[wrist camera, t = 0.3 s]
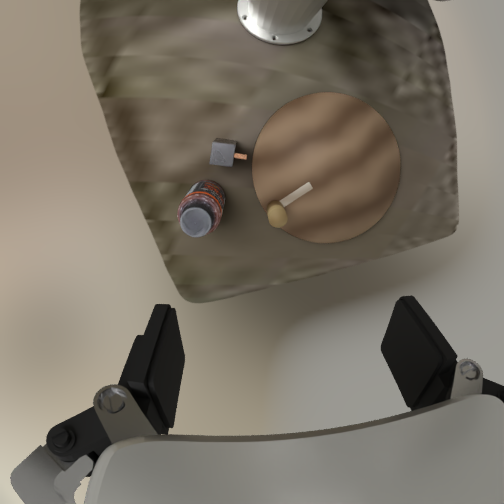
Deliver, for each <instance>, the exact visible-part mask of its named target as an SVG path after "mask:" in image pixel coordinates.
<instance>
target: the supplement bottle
mask: <svg viewBox="0 0 504 504" xmlns="http://www.w3.org/2000/svg"><path fill="white" fill-rule="evenodd" d="M224 204H225V194H224V191H223V189H222V188H221V186H220V185H219V184H217V183H216V182H214V181H210V180H202V181H199V182H197V183H196V184H194V185H193V186H192V187H191V188H190V190H189V191H188V193H187V194H186V196H185V197H184V198H183V200H182V201H181V203H180V205H179V208H178V214H177V215H178V221H179V223H180V225H181V228H182V230H183V231H184V232H185V233H186V234H187V235H189V236H192V237H201V236H204V235H206V234H209V233H211V232H213V231H214V230H215V229H216V228H217V227H218V225H219V223H220V220H221V217H222V212H223V208H224Z"/></svg>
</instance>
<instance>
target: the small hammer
mask: <svg viewBox="0 0 504 504" xmlns="http://www.w3.org/2000/svg"><path fill="white" fill-rule="evenodd" d="M235 148H236V141H234V140H227V139H220V138H216V139H215V140H214V141H213V143H212V150H211V157H210V164H214V165H221V166H229V167H232V165H233V160H234V158H239V159H246V158H247V155H246V154H240V153H235Z"/></svg>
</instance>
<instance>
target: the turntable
mask: <svg viewBox="0 0 504 504" xmlns="http://www.w3.org/2000/svg"><path fill="white" fill-rule="evenodd" d="M400 173H401V160H400V153H399V148H398V145H397V141H396V139H395V136H394V134H393V132H392V130H391V129H390V127H389V125H388V124H387V122H386V121H385V120H384V119H383V117H382V116H381V115H380V114H379V113H378V112H377V111H376V110H375V109H373V108H372V107H371V106H369V105H368V104H366V103H365V102H363V101H361V100H359V99H357V98H354V97H352V96H349V95H345V94H341V93H333V92H322V93H314V94H309V95H305V96H302V97H299V98H297V99H294V100H293V101H291V102H289V103H287V104H285V105H284V106H283V107H281V108H280V109H278V110H277V111H276V112H275V113H274V114H273V115H272V116H271V117H270V118H269V120H268V121H267V122H266V124H265V125H264V127H263V128H262V130H261V132H260V134H259V136H258V138H257V141H256V143H255V147H254V151H253V157H252V176H253V182H254V188H255V191H256V194H257V197H258V199H259V201H260V203H261V206H262V207H263V209H264V210H265V212H266V213H267V215H268V219H269V222H270V224H271V225H272V226H273V227H276V228H279V227H280V228H281V229H283V230H284V231H286V232H287V233H289V234H291V235H293V236H295V237H297V238H300V239H302V240H305V241H310V242H315V243H334V242H341V241H344V240H348V239H351V238H353V237H356V236H358V235H360V234H362V233H363V232H365V231H367V230H368V229H369V228H371V227H372V226H373V225H374V224H375V223H377V222H378V221H379V220H380V219H381V217H382V216H383V215H384V214H385V213H386V211H387V210H388V208H389V207H390V205H391V203H392V201H393V199H394V197H395V194H396V192H397V189H398V185H399V181H400Z"/></svg>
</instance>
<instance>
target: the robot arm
mask: <svg viewBox="0 0 504 504" xmlns="http://www.w3.org/2000/svg"><path fill="white" fill-rule="evenodd" d="M327 1H328V0H238V5H237V13H238V17H239V20H240V22H241V24H242V26H243V27H244V28H245V29H246V30H247V31H248V32H249V33H250V34H251V35H253V36H254V37H256V38H258V39H259V40H262V41H265V42H267V43H272V44H278V45H288V44H295V43H299V42H301V41H303V40H306V39H307V38H309V37H310V36H311V35H312V34H314V33H315V31H316V30H317V29H318V27H319V25H320V23H321V20H322V7H323V5H324V4H325V3H326V2H327ZM436 1H448V0H436ZM244 18H246V19H247V20H243V19H244ZM307 30H309V31H310V32H308V31H307ZM273 38H275V39H276V40H273ZM381 351H382V354H383V356H384V358H385V360H386V362H387V364H388V366H389V368H390V370H391V372H392V374H393V377H394V379H395V381H396V383H397V385H398V387H399V390H400V391H401V394H402V396H403V398H404V401H405V403H406V405H407V406H408V407H410V408H411V411H410V412H406V413H403V414H399V415H395V416H391V417H387V418H383V419H379V420H374V421H369V422H365V423H360V424H354V425H349V426H343V427H337V428H331V429H324V430H317V431H307V432H298V433H287V434H274V435H251V436H204V435H172V434H170V435H168V430H169V428H173V426H174V421H175V413H176V408H177V402H178V396H179V391H180V385H181V379H182V374H183V368H184V363H185V354H184V350H183V345H182V340H181V335H180V330H179V325H178V320H177V315H176V310H175V308H171V306H170V305H169V304H156V305H155V307H154V309H153V312H152V314H151V317H150V320H149V322H148V325H147V327H146V330H145V333H144V335H137V336H136V338H135V340H134V343H133V346H132V348H131V351H130V353H129V356H128V359H127V361H126V364H125V366H124V369H123V372H122V375H121V377H120V380H119V383H118V385H108V386H105V387H103V388H102V389H100V390H99V391H98V392H97V393H96V395H95V397H94V400H93V405H94V406H93V407H91V408H89V409H87V410H85V411H83V412H82V413H80V414H78V415H76V416H74V417H72V418H70V419H68V420H66V421H64V422H62V423H59V424H58V425H56V426H54V427H53V428H51V430H50V431H49V432H48V435H47V439H46V442H47V444H46V445H44V446H43V447H42V446H41V445H40V446H39V447H38V448H37V449H35V450H34V451H33V452H32V453H31V454H30V455H29V456H28V457H27V458H26V459H25V460H24V461H22V463H21V464H19V465H18V466H17V467H16V468H15V469H14V470H13V472H12V473H11V477H10V479H11V484H12V486H13V488H14V490H15V491H16V492H17V494H18V495H19V497H20V498H21V499H22V501H23V502H24V503H25V504H76V503H75V501H74V492H75V491H76V489H77V488H78V487H79V486H80V485H81V483H80V481H81V480H82V479H83V478H84V477H90V476H91V478H90V481H89V485H88V488H87V492H86V497H85V501H84V504H504V386H502V385H500V384H497V383H495V382H492V381H490V380H487V379H485V378H483V371H482V369H481V367H480V366H479V364H478V363H476V362H475V361H473V360H471V359H462V360H460V361H459V362H457V361H456V358H457V355H456V353H455V352H454V350H453V349H452V347H451V346H450V344H449V343H448V342H447V340H446V339H445V337H444V336H443V335H442V333H441V332H440V331H439V329H438V328H437V326H436V325H435V324H434V322H433V321H432V320H431V318H430V317H429V316H428V314H427V313H426V312H425V310H424V309H423V308H422V306H421V305H420V304H419V303H418V301H417V300H416V299H415V297H413V296H403V297H400V299H399V300H398V301H397V302H396V304H395V307H394V310H393V313H392V316H391V319H390V322H389V325H388V327H387V330H386V333H385V336H384V338H383V341H382V344H381ZM161 434H166V435H161Z"/></svg>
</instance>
